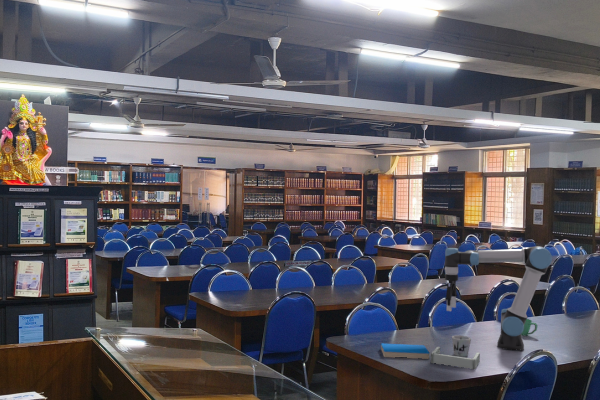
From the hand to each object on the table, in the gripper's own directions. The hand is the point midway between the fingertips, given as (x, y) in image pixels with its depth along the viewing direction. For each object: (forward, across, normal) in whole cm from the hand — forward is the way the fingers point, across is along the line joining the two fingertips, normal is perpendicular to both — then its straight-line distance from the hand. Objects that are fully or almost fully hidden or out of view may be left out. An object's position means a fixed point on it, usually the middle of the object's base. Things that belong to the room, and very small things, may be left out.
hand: (451, 309), depth 334 cm
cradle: (+22, +32, +9) cm, 40 cm away
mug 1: (+23, +14, +8) cm, 28 cm away
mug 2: (+24, -58, +38) cm, 73 cm away
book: (+23, +32, -20) cm, 44 cm away
